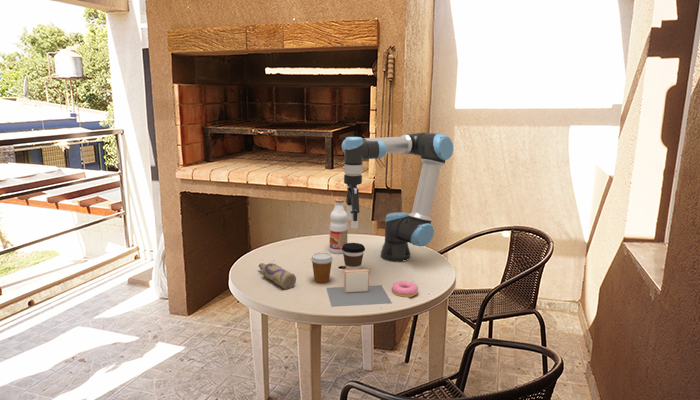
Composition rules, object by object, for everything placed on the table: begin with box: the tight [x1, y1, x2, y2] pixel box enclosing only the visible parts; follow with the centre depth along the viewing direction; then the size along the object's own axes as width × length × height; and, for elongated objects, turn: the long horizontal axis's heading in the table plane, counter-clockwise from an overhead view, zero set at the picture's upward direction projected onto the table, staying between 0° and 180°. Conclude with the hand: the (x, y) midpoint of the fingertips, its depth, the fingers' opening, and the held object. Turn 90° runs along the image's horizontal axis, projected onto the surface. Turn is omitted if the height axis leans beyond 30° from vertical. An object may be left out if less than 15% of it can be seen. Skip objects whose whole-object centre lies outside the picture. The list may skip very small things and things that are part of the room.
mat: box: [325, 284, 393, 308], centre depth 183 cm, size 24×18×1 cm
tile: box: [343, 268, 370, 293], centre depth 186 cm, size 10×2×9 cm, turn 100°
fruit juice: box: [329, 198, 349, 255], centre depth 235 cm, size 9×9×28 cm
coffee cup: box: [342, 242, 366, 270], centre depth 210 cm, size 11×11×12 cm
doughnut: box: [391, 280, 419, 298], centre depth 187 cm, size 11×11×4 cm
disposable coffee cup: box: [310, 252, 334, 284], centre depth 196 cm, size 10×10×12 cm
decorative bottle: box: [258, 262, 297, 290], centre depth 199 cm, size 26×8×7 cm, turn 39°
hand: (352, 223), depth 192 cm, fingers open, 12 cm apart
